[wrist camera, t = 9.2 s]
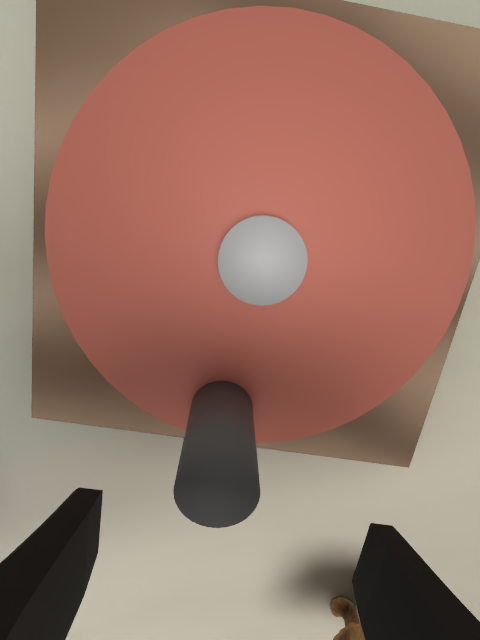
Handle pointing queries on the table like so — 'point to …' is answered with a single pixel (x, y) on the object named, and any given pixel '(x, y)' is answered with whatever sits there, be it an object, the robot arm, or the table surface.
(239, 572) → the table surface
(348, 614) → the lion figurine
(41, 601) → the robot arm
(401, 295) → the handwheel
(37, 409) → the walnut board
